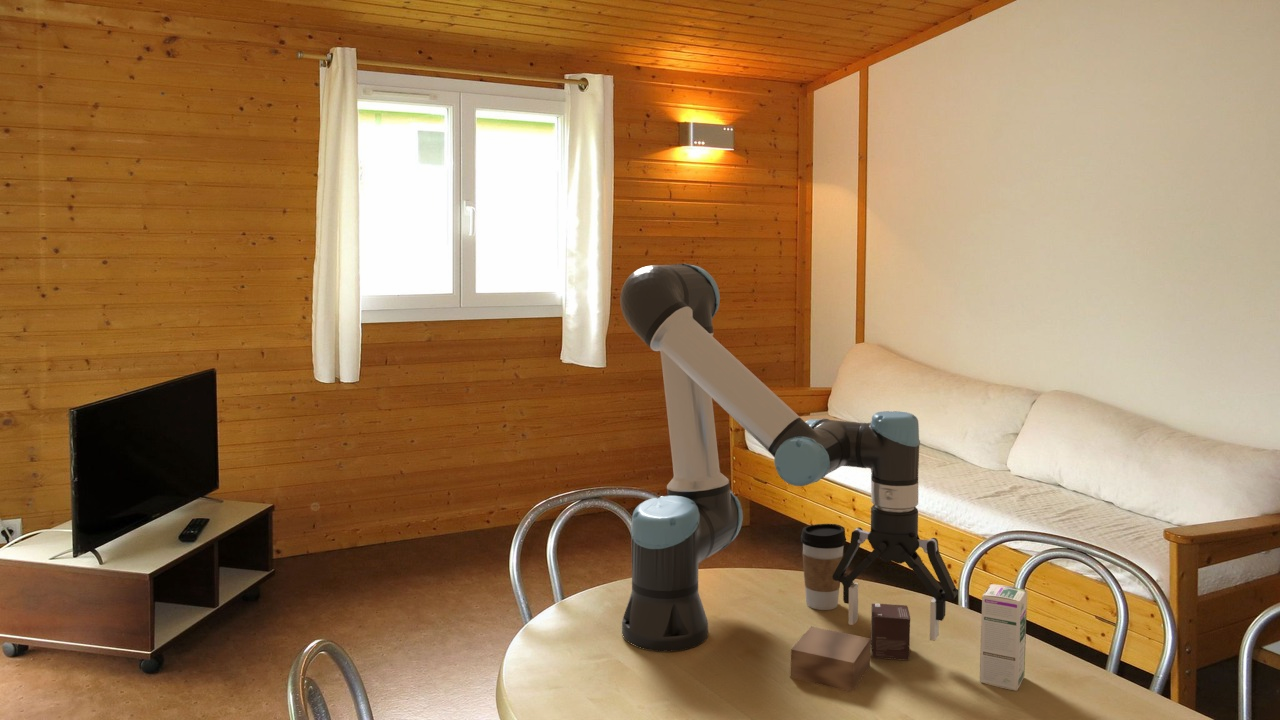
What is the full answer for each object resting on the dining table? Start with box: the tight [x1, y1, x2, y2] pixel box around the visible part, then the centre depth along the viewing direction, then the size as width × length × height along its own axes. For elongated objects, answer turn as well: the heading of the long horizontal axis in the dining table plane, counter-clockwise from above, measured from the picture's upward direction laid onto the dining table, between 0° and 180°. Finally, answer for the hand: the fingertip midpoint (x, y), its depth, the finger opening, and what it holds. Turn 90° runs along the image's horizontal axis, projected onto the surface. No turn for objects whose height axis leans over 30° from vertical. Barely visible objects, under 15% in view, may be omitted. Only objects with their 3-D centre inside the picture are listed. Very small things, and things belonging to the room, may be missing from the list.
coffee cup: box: [800, 523, 847, 611], centre depth 176 cm, size 8×8×15 cm
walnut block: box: [789, 625, 872, 693], centre depth 149 cm, size 10×10×5 cm
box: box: [870, 603, 911, 661], centre depth 156 cm, size 6×6×7 cm
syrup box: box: [979, 583, 1028, 692], centre depth 145 cm, size 6×6×14 cm
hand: (892, 629), depth 155 cm, fingers open, 13 cm apart
